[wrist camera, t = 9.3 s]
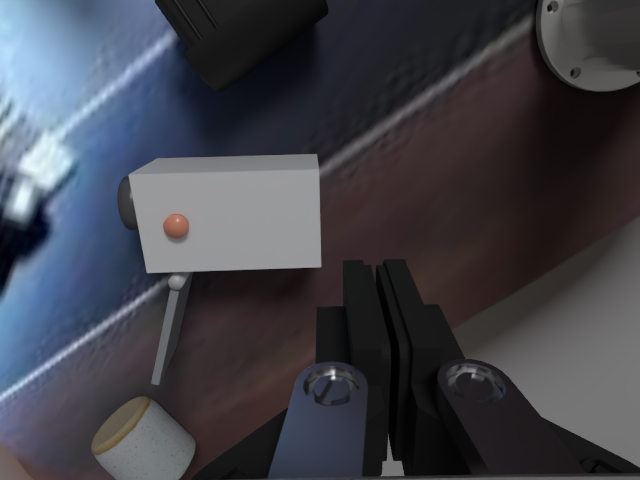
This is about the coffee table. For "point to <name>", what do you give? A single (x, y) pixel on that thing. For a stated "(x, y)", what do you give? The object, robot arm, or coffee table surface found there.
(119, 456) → the ceramic mug
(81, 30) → the coffee table surface
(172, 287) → the side door
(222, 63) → the power tool battery
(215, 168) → the camera body
